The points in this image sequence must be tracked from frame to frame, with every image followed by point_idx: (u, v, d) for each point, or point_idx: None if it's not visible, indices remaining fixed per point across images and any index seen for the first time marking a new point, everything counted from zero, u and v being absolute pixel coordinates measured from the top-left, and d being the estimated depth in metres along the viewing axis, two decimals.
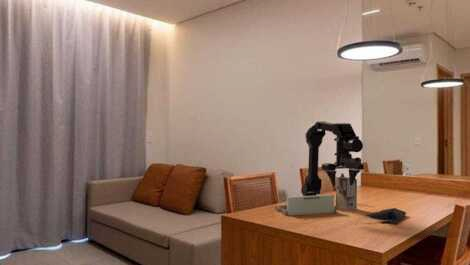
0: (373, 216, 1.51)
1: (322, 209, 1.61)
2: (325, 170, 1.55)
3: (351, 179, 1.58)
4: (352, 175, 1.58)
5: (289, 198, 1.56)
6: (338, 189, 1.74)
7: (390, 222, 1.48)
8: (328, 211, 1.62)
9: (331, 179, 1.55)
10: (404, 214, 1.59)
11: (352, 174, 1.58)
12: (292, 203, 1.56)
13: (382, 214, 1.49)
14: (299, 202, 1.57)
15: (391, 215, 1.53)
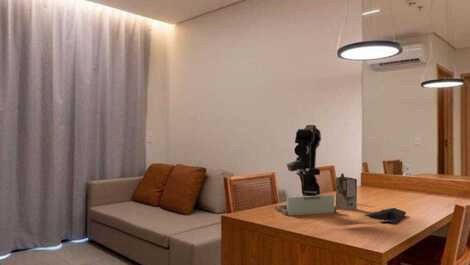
0: (372, 216, 1.52)
1: (322, 209, 1.61)
2: None
3: None
4: None
5: (289, 198, 1.56)
6: (338, 189, 1.74)
7: (389, 222, 1.48)
8: (328, 211, 1.62)
9: None
10: (404, 214, 1.59)
11: None
12: (292, 203, 1.56)
13: (381, 214, 1.49)
14: (299, 202, 1.57)
15: (390, 215, 1.54)
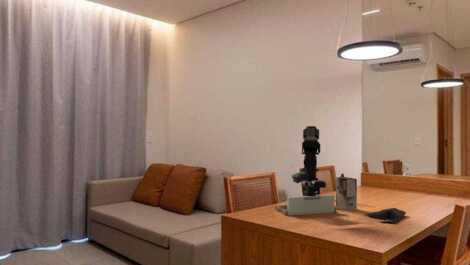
0: (372, 216, 1.52)
1: (322, 209, 1.61)
2: None
3: None
4: None
5: (290, 198, 1.55)
6: (338, 189, 1.74)
7: (388, 222, 1.48)
8: (328, 211, 1.62)
9: None
10: (403, 214, 1.59)
11: None
12: (292, 203, 1.56)
13: (380, 214, 1.50)
14: (299, 202, 1.57)
15: (390, 215, 1.54)
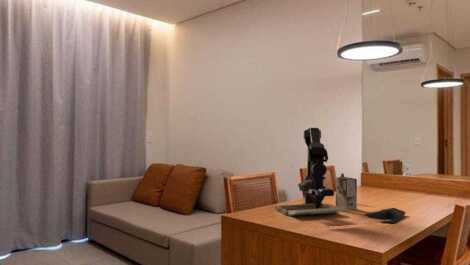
0: (371, 215, 1.53)
1: None
2: None
3: None
4: None
5: (296, 213, 1.49)
6: (338, 189, 1.74)
7: (388, 221, 1.49)
8: (329, 212, 1.61)
9: None
10: (403, 214, 1.59)
11: None
12: (297, 213, 1.51)
13: (380, 213, 1.50)
14: None
15: (389, 215, 1.54)
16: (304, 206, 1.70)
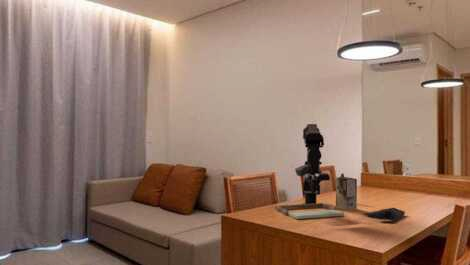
0: (370, 215, 1.53)
1: None
2: None
3: None
4: None
5: (297, 218, 1.48)
6: (338, 189, 1.74)
7: (387, 221, 1.49)
8: None
9: None
10: (403, 214, 1.59)
11: None
12: None
13: (379, 213, 1.51)
14: None
15: (389, 214, 1.55)
16: (304, 206, 1.70)
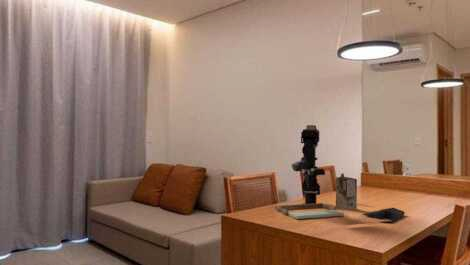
0: (369, 215, 1.53)
1: None
2: None
3: None
4: None
5: (297, 218, 1.48)
6: (338, 189, 1.74)
7: (386, 221, 1.49)
8: None
9: None
10: (402, 213, 1.60)
11: None
12: None
13: (378, 213, 1.51)
14: None
15: (388, 214, 1.55)
16: (304, 206, 1.70)
